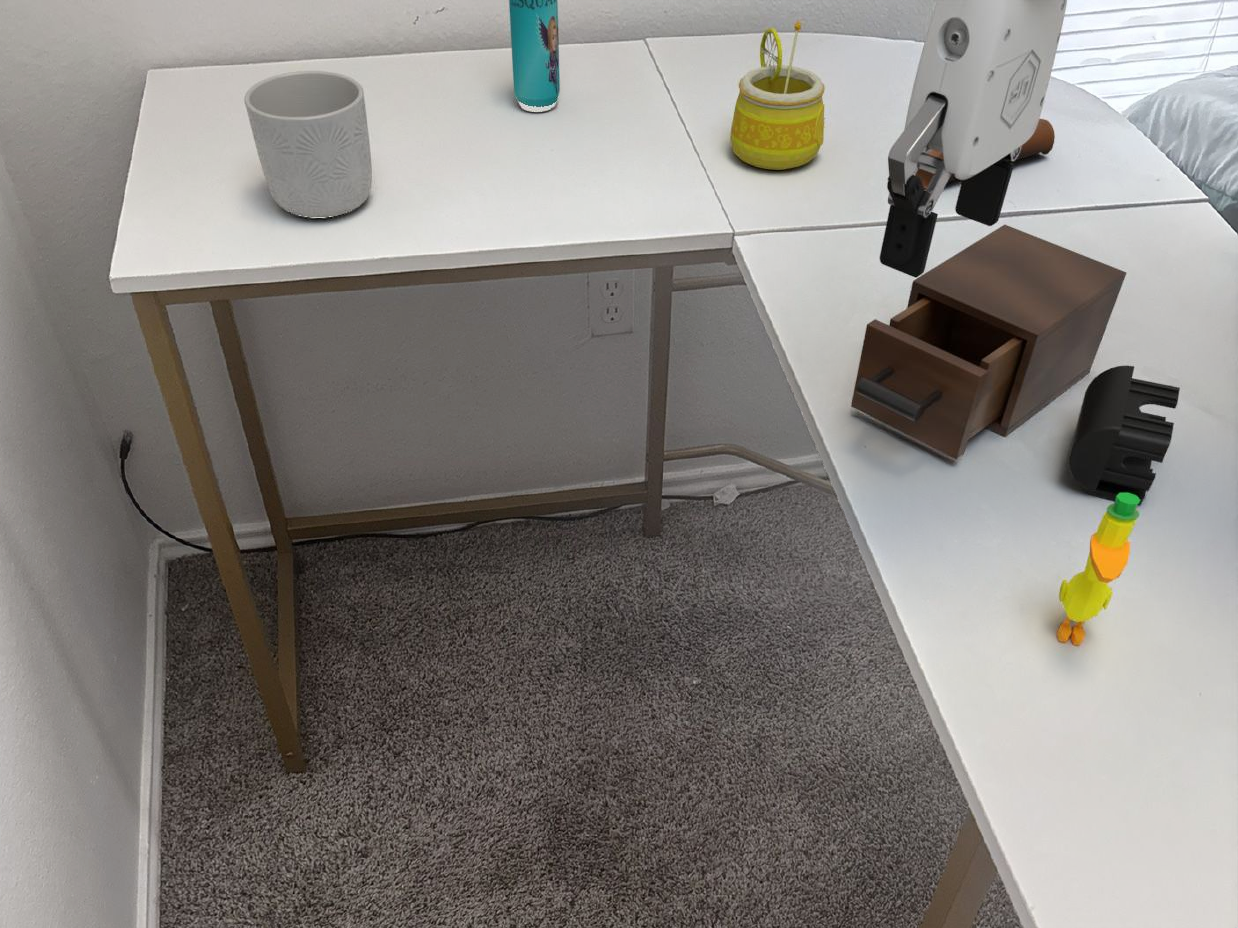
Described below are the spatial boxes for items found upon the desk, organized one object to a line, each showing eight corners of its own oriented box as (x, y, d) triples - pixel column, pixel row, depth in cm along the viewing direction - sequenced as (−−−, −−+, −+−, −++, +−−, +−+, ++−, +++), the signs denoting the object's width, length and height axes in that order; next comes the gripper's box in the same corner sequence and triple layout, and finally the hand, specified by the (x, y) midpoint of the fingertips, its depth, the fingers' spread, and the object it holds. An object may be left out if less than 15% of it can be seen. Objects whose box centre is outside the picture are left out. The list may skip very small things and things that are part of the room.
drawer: (928, 481, 97) (950, 397, 91) (821, 425, 102) (836, 342, 95) (1040, 397, 104) (1068, 314, 98) (936, 349, 109) (956, 267, 103)
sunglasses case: (1002, 127, 139) (1036, 84, 133) (1028, 178, 139) (1063, 137, 133) (887, 161, 134) (917, 118, 128) (914, 214, 134) (945, 173, 127)
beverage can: (547, 118, 142) (542, -28, 130) (506, 110, 143) (498, -35, 131) (567, 101, 145) (564, -43, 133) (527, 93, 146) (521, -50, 134)
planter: (292, 172, 133) (270, 65, 124) (393, 183, 131) (379, 75, 122) (251, 222, 125) (225, 112, 117) (358, 234, 124) (340, 123, 115)
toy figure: (1092, 671, 85) (1155, 540, 75) (1043, 662, 85) (1099, 531, 76) (1094, 612, 88) (1154, 480, 79) (1047, 603, 89) (1101, 471, 79)
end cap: (1071, 427, 103) (1098, 357, 98) (1152, 445, 101) (1184, 374, 96) (1055, 491, 97) (1082, 420, 92) (1140, 510, 96) (1173, 439, 90)
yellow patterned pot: (809, 182, 132) (826, 63, 122) (718, 168, 134) (727, 50, 124) (832, 137, 139) (850, 21, 129) (745, 124, 141) (756, 9, 131)
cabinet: (1005, 437, 102) (1038, 335, 94) (890, 381, 107) (912, 280, 100) (1089, 372, 108) (1127, 272, 101) (977, 323, 114) (1004, 223, 106)
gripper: (995, -8, 60) (918, 310, 73) (1143, -82, 67) (1048, 218, 81) (875, -42, 62) (822, 270, 76) (1030, -109, 70) (956, 184, 84)
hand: (939, 243), depth 79 cm, fingers open, 9 cm apart
